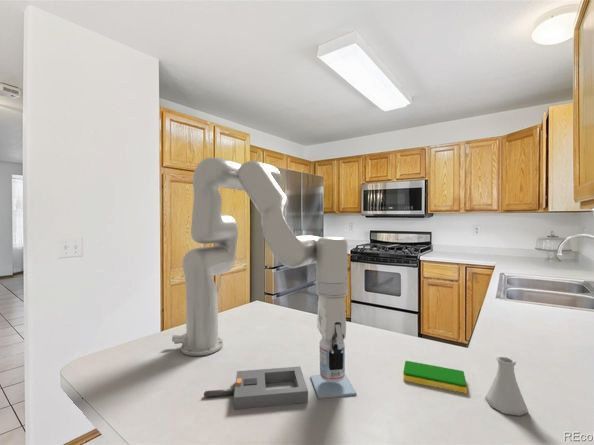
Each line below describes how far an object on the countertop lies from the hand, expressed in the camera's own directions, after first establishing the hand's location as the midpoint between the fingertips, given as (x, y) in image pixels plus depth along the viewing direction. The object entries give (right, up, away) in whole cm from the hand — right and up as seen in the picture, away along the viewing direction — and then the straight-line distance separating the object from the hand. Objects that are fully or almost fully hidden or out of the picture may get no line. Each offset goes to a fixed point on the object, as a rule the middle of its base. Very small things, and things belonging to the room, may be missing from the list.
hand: (332, 361), depth 71 cm
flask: (+37, -6, -8) cm, 38 cm away
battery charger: (-18, -6, -3) cm, 19 cm away
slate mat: (0, -6, 0) cm, 6 cm away
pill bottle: (0, -4, 0) cm, 4 cm away
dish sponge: (+26, -6, +3) cm, 27 cm away
